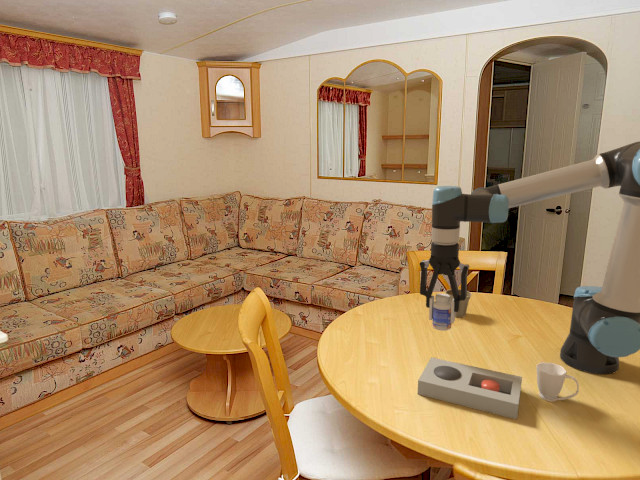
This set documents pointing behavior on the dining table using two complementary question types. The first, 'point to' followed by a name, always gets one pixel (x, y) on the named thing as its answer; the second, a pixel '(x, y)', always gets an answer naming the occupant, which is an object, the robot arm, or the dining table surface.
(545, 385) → the cup
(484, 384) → the breaker button
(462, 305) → the flower pot
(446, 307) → the pill bottle
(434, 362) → the grey recessed tray
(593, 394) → the dining table surface
